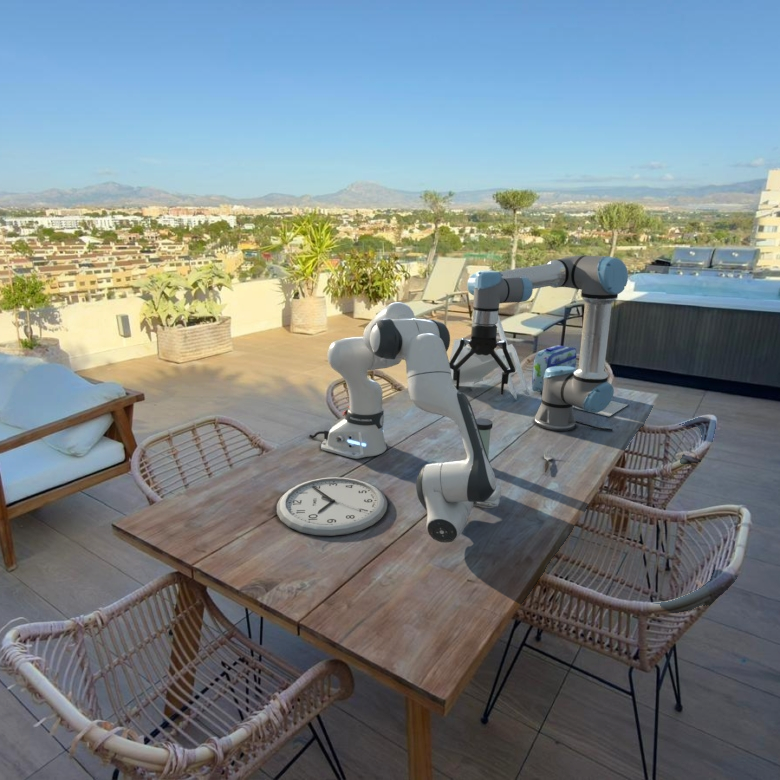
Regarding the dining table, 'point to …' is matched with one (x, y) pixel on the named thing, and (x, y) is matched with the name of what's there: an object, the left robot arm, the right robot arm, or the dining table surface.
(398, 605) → the dining table surface
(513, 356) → the white plastic object
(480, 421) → the lid
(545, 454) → the fork
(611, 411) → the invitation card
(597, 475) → the dining table surface
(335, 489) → the wall clock
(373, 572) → the dining table surface
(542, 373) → the lunch box
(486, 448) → the jar
